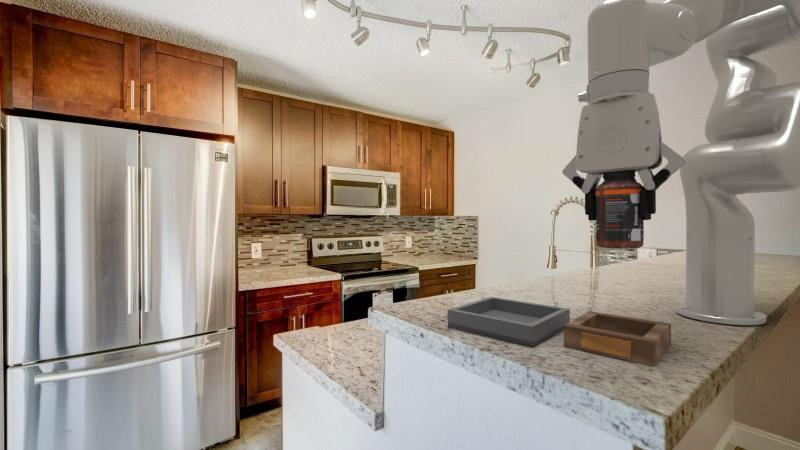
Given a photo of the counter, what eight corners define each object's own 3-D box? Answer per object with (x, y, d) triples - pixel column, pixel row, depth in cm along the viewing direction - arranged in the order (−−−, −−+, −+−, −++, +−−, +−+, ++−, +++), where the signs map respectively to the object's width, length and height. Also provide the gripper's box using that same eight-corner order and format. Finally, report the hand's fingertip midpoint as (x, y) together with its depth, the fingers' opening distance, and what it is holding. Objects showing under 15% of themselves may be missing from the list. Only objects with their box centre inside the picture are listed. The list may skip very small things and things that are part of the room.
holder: (589, 329, 63) (589, 311, 63) (671, 344, 55) (671, 323, 55) (562, 346, 54) (562, 325, 54) (653, 367, 47) (653, 342, 47)
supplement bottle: (651, 249, 51) (651, 164, 51) (603, 249, 52) (602, 166, 52) (633, 245, 57) (633, 169, 57) (590, 245, 58) (590, 171, 58)
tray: (491, 311, 75) (491, 296, 75) (569, 326, 64) (569, 308, 64) (447, 327, 65) (447, 309, 65) (532, 347, 54) (532, 326, 54)
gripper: (546, 101, 57) (548, 221, 58) (689, 69, 45) (690, 220, 46) (565, 110, 63) (567, 219, 63) (698, 83, 51) (698, 218, 51)
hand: (618, 218), depth 55 cm, fingers closed on supplement bottle, 6 cm apart
